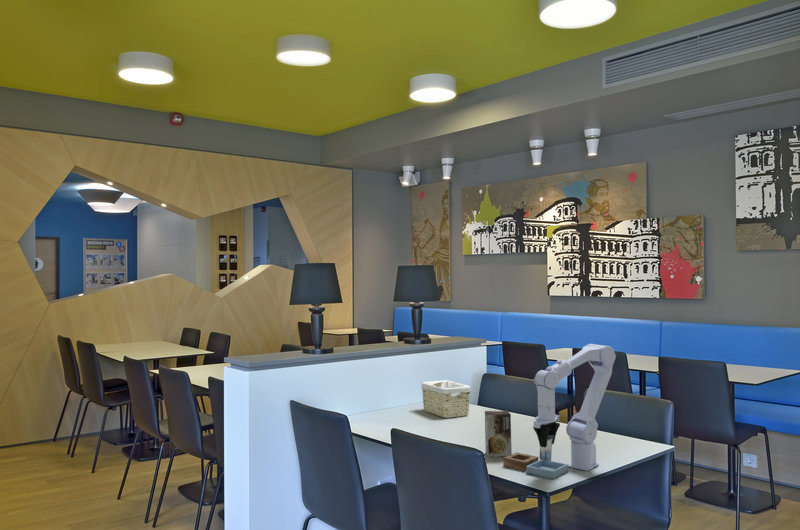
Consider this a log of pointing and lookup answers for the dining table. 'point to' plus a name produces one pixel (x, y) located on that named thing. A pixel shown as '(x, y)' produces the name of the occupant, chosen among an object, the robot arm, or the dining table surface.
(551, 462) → the slate-blue tray
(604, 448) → the dining table surface
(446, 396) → the storage basket
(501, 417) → the coffee box
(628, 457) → the dining table surface
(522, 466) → the wooden square frame
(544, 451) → the glass jar
